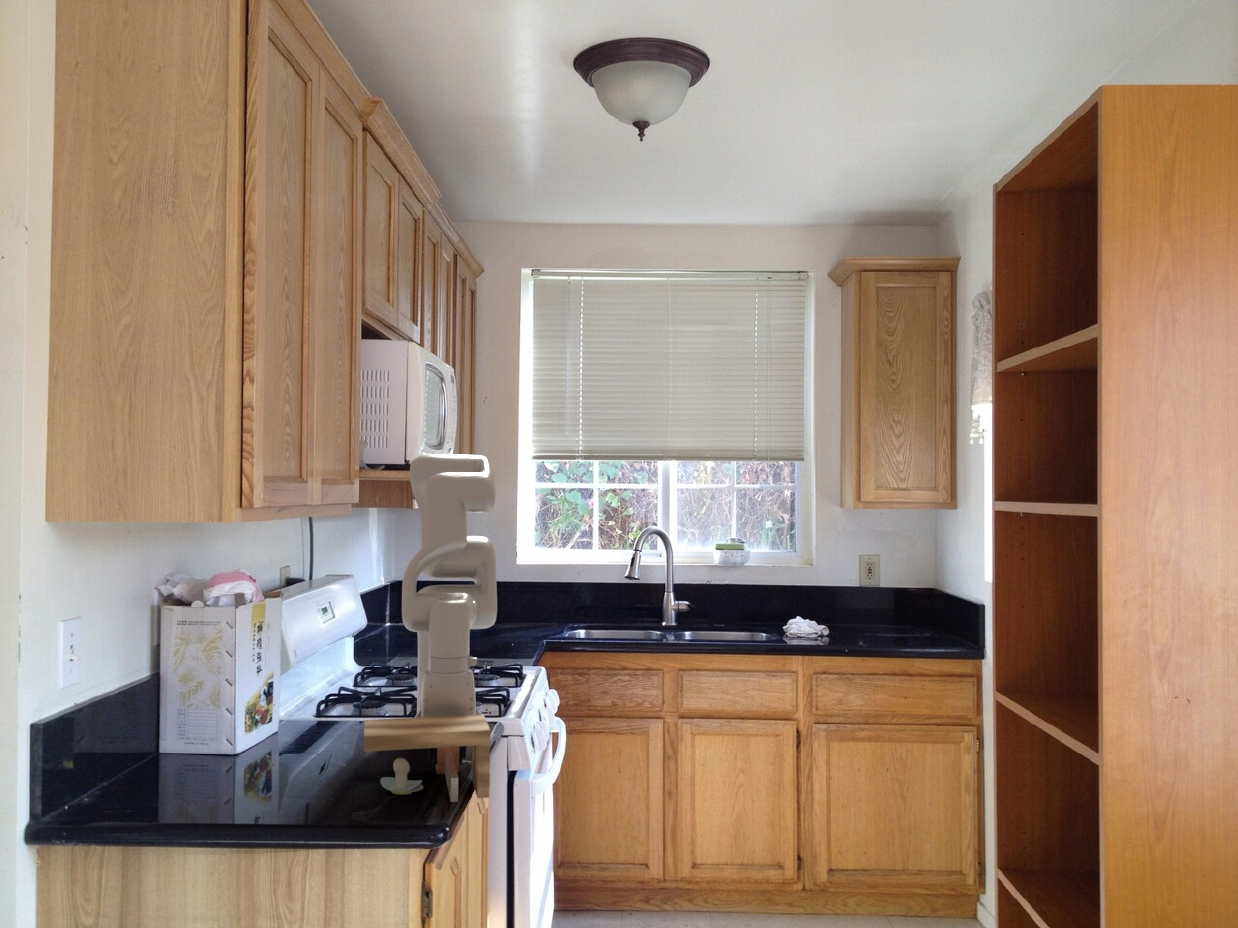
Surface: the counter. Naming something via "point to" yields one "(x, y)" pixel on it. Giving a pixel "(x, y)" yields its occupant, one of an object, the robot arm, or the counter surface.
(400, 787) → the pacifier
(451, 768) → the orange-brown mallet
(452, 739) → the oak shelf
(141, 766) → the counter surface
